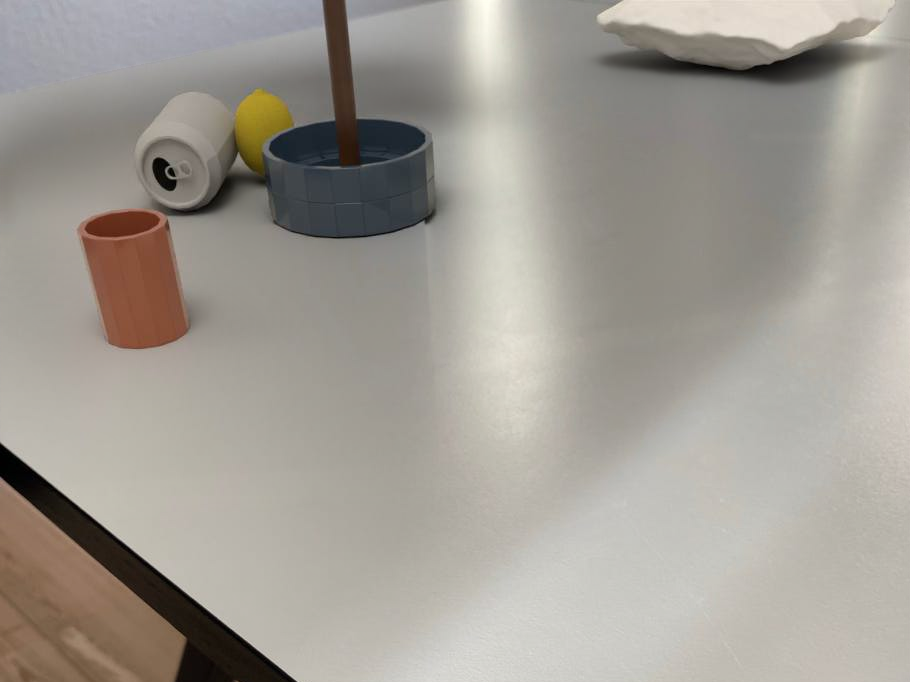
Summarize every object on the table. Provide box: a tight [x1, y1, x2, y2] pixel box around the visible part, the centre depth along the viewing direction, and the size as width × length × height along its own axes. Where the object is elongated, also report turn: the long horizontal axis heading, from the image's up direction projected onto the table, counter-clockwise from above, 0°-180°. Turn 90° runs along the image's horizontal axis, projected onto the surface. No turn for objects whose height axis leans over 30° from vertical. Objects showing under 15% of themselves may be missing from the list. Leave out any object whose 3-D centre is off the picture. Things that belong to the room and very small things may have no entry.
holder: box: [76, 208, 191, 350], centre depth 77 cm, size 6×6×8 cm
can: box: [133, 91, 239, 212], centre depth 100 cm, size 8×8×12 cm
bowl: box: [261, 116, 437, 238], centre depth 95 cm, size 14×14×6 cm
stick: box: [321, 0, 361, 166], centre depth 91 cm, size 2×2×20 cm
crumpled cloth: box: [596, 0, 897, 71], centre depth 130 cm, size 24×35×9 cm
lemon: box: [234, 88, 295, 179], centre depth 102 cm, size 6×6×8 cm
